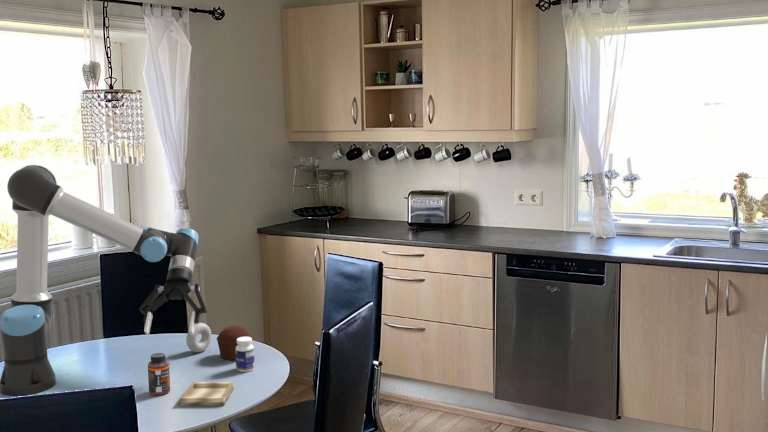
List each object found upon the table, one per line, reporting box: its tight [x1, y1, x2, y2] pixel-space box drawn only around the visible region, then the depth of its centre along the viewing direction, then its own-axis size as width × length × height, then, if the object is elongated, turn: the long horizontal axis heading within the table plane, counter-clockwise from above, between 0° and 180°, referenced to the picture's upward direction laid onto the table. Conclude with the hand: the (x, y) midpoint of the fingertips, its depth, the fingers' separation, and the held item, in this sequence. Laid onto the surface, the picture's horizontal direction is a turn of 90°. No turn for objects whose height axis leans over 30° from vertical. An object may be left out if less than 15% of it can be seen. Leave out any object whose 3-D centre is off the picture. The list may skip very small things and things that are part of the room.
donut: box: [185, 322, 212, 354], centre depth 253 cm, size 10×4×10 cm, turn 146°
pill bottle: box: [235, 336, 256, 373], centre depth 236 cm, size 6×6×10 cm
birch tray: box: [179, 381, 234, 407], centre depth 214 cm, size 12×12×2 cm
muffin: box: [216, 325, 252, 362], centre depth 248 cm, size 12×11×10 cm
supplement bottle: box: [147, 352, 171, 396], centre depth 217 cm, size 6×6×11 cm
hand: (168, 332), depth 226 cm, fingers open, 13 cm apart
